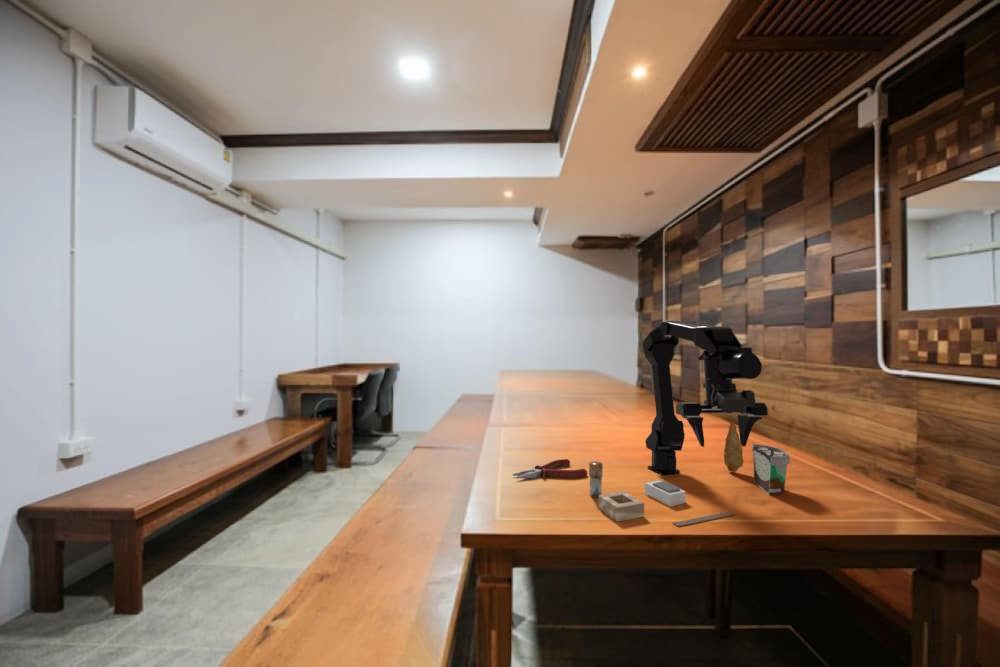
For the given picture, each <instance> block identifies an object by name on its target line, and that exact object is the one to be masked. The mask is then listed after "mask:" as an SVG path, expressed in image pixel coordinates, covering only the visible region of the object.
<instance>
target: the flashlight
mask: <svg viewBox="0 0 1000 667" xmlns="http://www.w3.org/2000/svg"><path fill="white" fill-rule="evenodd" d="M603 464H604V463H602V462H601V461H596V460H595V461H593V460H592V461H589V462H588V467H589V468H588V471H589V472H588V476H589V496H590V497H591V498H595V499H599V495H603V493H602V492H603V490H602V489H603V488H602V484H603V482H602V480H603V479H602V478H603V468H604V467H603Z"/></svg>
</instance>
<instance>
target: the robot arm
mask: <svg viewBox="0 0 1000 667" xmlns="http://www.w3.org/2000/svg"><path fill="white" fill-rule="evenodd" d="M680 339H682V340H687V341H691V342H693V344H694V346H696V347H697V348H699V349H701V350H703V352H702V353H701V354H700V355H699V356H698V357H697V360H698V361H703V366H704V368H703V373H704V383H702V385H703V386H702V387H703V388H705V400H703V401H704V404H701V403H700V402H699V403H698V402H693V401H690V402H689V401H686V402H683V401H681V402H677V403H676V404H675V405H674V395H673V386H672V385H673V384H672V376H671V367H670V365H671V363H672V361H673V360H674V357H675V349H676V347H677V346H678V345H679V344H680ZM642 349H643V352H644V356H645V359H646V361H647V362H648V363H649V364H650V365H651V371H652V380H653V382H652V383H653V392H654V402H655V411H656V412H655V414H656V415H655V416H654V417H655V418H653V422H652V423H651V432H650V434H649V435H648V437H647V438H645V446H646V448H647V449H648V450H650V451H651V465H647V469H650V470H652V471H654V472H655V473H657V474H660V475H662V476H663V475H670V474H676V473H678V474H679V473H680V469H678V468H677V457H676V456H677V454H676V453H677V451H678V452H679V451H680V452H681V451H682V449H683V445H684V442H685V431H684V429H685V428H684V422H683V421H682V420H679V418H678V417H677V416H676V415H680V416H681V418H683V419H686V420H687V422H688V424H689V425H690V426H691V429H692V431H693V432H694V434H695V437H696V439H697V441H698V444H699V445H700V447H702V448H704V447H705V438H704V435H705V434H704V427H703V421H704V417H702V416H701V414H708V413H709V414H710V413H711V414H712V413H713V414H717V413H718V414H719V413H720V414H722V413H724V414H732V413H735V414H736V413H737V422H738V424H737V425H738V432H739V433H738V435H739V440H740V442H741V446H742V448H745V447H746V446H747V443H748V439H749V437H750V434H751V431H752V429H753V426H754V425H755V424H756V422H758V421H759V420H763V416H769V408H768V406H767V404H766V403H765V402H759V401H756V395H755V392H754V391H752V390H745V389H743V390H742V391H738V390H737V385H736V383H733V380H754V379H756V378H758V377H759V376H760V374H761V372H762V370H763V365H762V362H761V360H760V358H759V356H758V355H756V354H755V353H753V349H752V347H744V346H743V345H742V343H741V342H740V340H739V339H738V338H737V336H736V334H735V333H734V332H733V329H732V327H730V326H727V325H726V326H723V325H722V326H720V325H719V326H714V325H709V326H708V325H707V326H706V325H705V326H704V325H703V326H702V325H701V326H700V325H695V324H691V323H686V322H681V321H679V320H664V321H662V322H661V324H659V326H658V327H657V328H655V329H653V330H652V331H650V332H649V333H648V334H647V336H645V338H644V340H643V342H642ZM674 406H675V407H674ZM739 413H740V414H739ZM675 414H676V415H675Z"/></svg>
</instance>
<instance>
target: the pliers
mask: <svg viewBox="0 0 1000 667" xmlns="http://www.w3.org/2000/svg"><path fill="white" fill-rule="evenodd" d="M570 465H571V461H570V460H569V459H567V458H563V459H557V460H555V459H554V460H553V461H550V462H548V463H545V464H543V465H535V466H534V468H532V469H531V468H530V469H526V470H523V471H519V472H515V473H513V474H512V477H513V476H514V477H516V479H537V478H542V479H543V480H546V478H554V479H581V478H586V477H587V476H588V470H586V469H585V468H578V469H556V468H561V466H563V467H569V466H570ZM536 477H537V478H536Z"/></svg>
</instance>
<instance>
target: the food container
mask: <svg viewBox="0 0 1000 667" xmlns="http://www.w3.org/2000/svg"><path fill="white" fill-rule="evenodd" d="M751 452H752V462H753V464H752V465H753V483H755V484H756V485H757V486H758V487H759V488H760V489H762V491H764V492H765V493H766V495H767V496H780V495H784V493H785V488H786V480H787V479H786V477H787V467H788V465H790V464H791V459H790V455H789V454H788V452H787V451H786V450H784V449H781V448H779V447H775V446H771V445H765V444H759V443H758V444H756V443H752V449H751Z"/></svg>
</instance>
